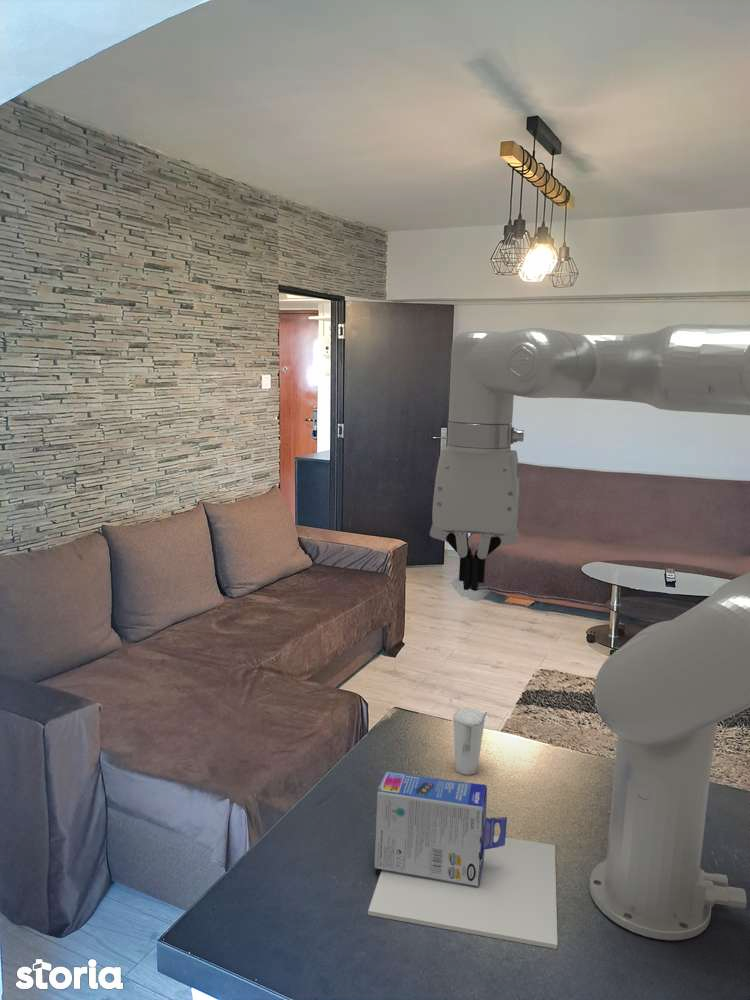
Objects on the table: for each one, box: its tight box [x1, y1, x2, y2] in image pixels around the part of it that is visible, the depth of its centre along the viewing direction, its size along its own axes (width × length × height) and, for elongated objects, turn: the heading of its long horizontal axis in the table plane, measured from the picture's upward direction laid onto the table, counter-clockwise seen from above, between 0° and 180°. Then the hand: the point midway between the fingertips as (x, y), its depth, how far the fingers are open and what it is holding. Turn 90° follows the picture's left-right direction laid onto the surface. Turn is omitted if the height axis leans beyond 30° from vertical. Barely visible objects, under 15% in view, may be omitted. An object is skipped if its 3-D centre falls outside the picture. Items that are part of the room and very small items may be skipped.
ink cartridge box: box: [374, 771, 508, 886], centre depth 87 cm, size 10×6×14 cm
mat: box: [367, 835, 558, 950], centre depth 86 cm, size 20×17×1 cm
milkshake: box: [452, 707, 488, 776], centre depth 110 cm, size 4×5×10 cm
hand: (471, 587), depth 93 cm, fingers closed
